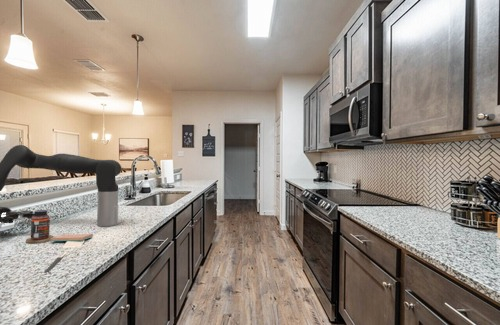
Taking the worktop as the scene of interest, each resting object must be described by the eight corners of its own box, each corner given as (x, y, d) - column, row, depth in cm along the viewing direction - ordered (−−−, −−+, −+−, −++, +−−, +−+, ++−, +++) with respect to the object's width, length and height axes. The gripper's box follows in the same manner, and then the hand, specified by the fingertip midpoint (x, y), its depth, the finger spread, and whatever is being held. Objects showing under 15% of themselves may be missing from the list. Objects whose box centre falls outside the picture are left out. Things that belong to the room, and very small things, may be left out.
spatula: (84, 243, 106) (85, 239, 106) (58, 273, 78) (58, 268, 78) (67, 244, 104) (67, 240, 104) (33, 275, 76) (33, 270, 76)
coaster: (57, 236, 112) (57, 234, 112) (49, 242, 104) (49, 240, 104) (31, 238, 109) (31, 236, 109) (21, 244, 101) (21, 242, 101)
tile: (50, 238, 103) (82, 237, 104) (63, 234, 111) (92, 233, 112) (50, 241, 103) (81, 240, 104) (63, 237, 111) (92, 236, 112)
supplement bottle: (38, 241, 103) (39, 212, 103) (26, 239, 104) (27, 211, 104) (53, 236, 109) (53, 209, 109) (41, 235, 110) (41, 208, 110)
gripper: (-26, 209, 106) (4, 212, 102) (13, 204, 120) (41, 206, 116) (-26, 228, 106) (4, 231, 102) (13, 220, 120) (41, 223, 116)
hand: (23, 218), depth 109 cm, fingers open, 8 cm apart
